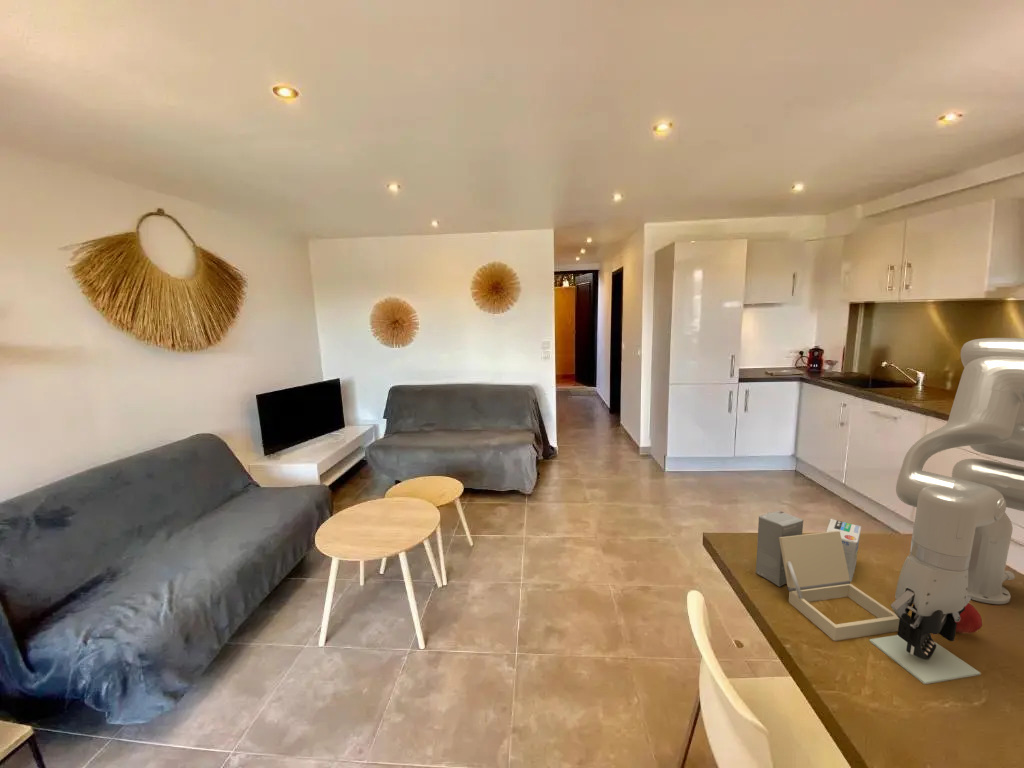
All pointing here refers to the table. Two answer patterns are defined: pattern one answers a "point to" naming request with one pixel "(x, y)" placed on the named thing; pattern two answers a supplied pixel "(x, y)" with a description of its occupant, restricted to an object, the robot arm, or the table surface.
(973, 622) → the red fruit
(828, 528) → the light bulb box
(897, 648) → the mat
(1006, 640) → the table surface
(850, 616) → the table surface
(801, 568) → the case
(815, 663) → the table surface
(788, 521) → the skincare box
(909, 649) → the battery charger
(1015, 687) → the table surface
